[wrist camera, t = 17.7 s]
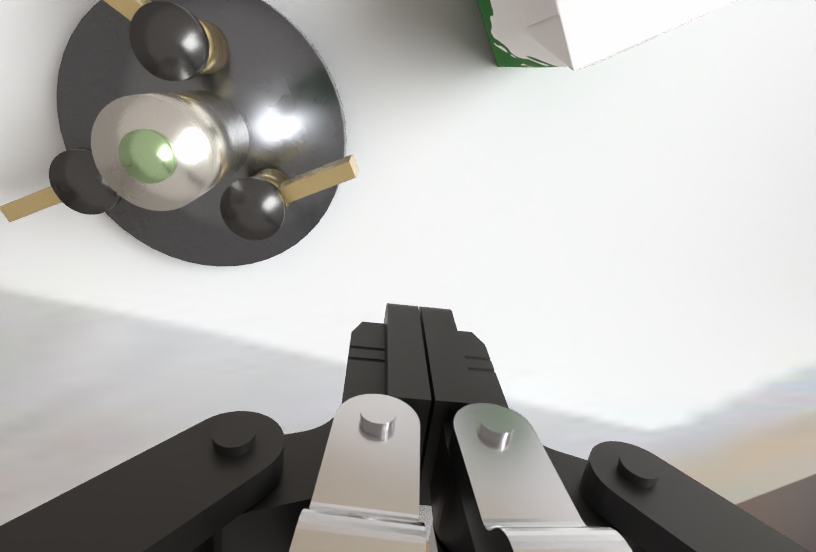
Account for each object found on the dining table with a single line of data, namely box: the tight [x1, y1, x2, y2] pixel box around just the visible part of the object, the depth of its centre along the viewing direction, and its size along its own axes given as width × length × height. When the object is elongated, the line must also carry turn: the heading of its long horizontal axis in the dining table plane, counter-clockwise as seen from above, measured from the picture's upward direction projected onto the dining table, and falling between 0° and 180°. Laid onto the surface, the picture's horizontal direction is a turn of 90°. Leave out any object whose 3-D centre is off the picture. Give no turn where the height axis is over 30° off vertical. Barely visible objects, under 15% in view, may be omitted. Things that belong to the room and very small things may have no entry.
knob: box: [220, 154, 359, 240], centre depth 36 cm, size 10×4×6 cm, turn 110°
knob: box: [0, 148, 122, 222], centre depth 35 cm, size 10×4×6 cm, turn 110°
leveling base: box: [57, 0, 347, 266], centre depth 34 cm, size 22×22×12 cm
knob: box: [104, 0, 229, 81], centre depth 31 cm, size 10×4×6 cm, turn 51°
